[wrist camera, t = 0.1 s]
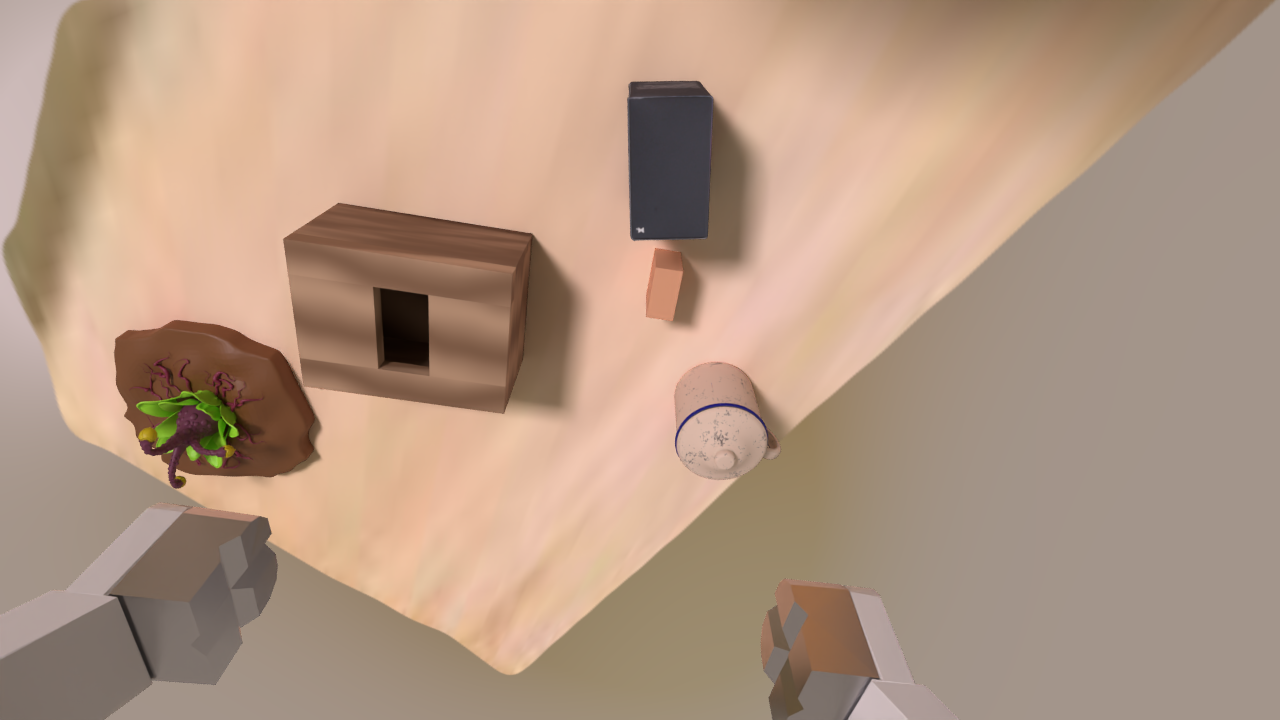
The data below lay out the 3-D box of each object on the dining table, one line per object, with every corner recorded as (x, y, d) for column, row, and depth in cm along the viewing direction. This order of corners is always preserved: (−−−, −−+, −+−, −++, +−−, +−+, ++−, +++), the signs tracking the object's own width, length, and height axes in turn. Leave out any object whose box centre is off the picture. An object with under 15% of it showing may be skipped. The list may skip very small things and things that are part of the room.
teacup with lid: (657, 408, 68) (659, 478, 58) (698, 345, 64) (708, 409, 54) (747, 448, 71) (764, 522, 61) (793, 390, 67) (819, 459, 57)
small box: (700, 204, 56) (711, 242, 47) (630, 205, 56) (627, 243, 47) (704, 79, 51) (717, 95, 42) (627, 80, 51) (623, 97, 42)
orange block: (655, 247, 59) (655, 267, 54) (680, 252, 59) (683, 271, 54) (646, 295, 61) (646, 317, 57) (670, 298, 61) (672, 321, 57)
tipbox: (338, 202, 57) (283, 238, 48) (532, 233, 58) (512, 274, 49) (350, 334, 64) (303, 386, 55) (522, 359, 65) (503, 413, 56)
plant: (291, 323, 63) (228, 381, 54) (330, 468, 73) (282, 539, 64) (97, 314, 63) (-3, 370, 53) (162, 461, 73) (88, 530, 63)
